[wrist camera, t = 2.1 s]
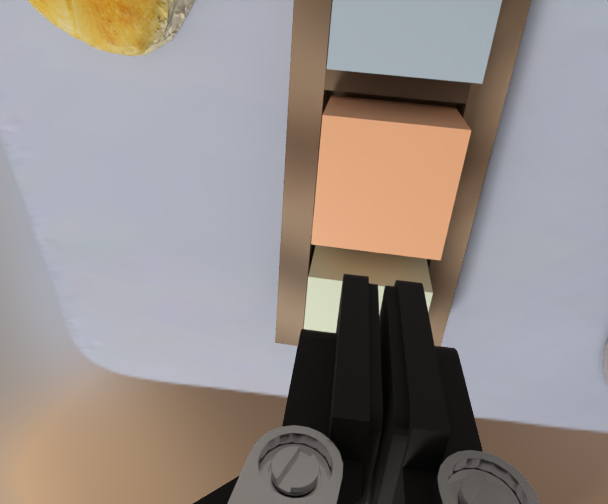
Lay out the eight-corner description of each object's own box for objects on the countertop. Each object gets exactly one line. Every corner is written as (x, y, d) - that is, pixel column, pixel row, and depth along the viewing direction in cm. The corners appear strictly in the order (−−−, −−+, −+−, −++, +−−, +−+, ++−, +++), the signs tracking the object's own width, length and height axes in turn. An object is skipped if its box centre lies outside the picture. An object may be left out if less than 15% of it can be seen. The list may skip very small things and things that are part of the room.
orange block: (431, 220, 24) (440, 260, 20) (320, 207, 24) (310, 244, 20) (455, 107, 21) (471, 130, 17) (331, 95, 21) (322, 114, 18)
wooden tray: (430, 332, 29) (435, 365, 27) (284, 312, 30) (275, 342, 28) (540, -118, 19) (566, -135, 16) (311, -131, 20) (302, -151, 17)
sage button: (406, 335, 27) (410, 386, 23) (309, 322, 27) (299, 370, 24) (424, 249, 24) (433, 292, 21) (317, 236, 25) (308, 276, 21)
